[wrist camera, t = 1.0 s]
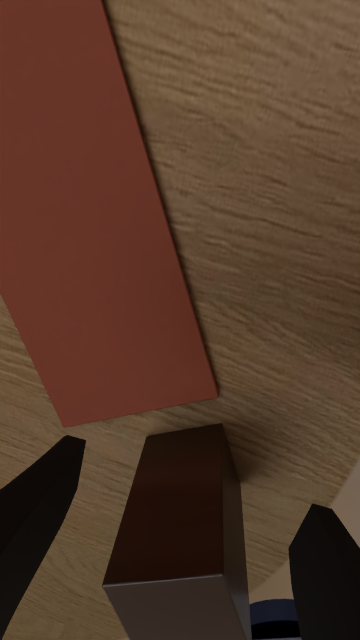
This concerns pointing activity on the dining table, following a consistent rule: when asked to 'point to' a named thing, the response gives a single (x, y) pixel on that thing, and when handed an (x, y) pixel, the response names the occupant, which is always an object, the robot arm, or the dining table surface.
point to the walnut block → (182, 543)
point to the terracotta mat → (88, 224)
